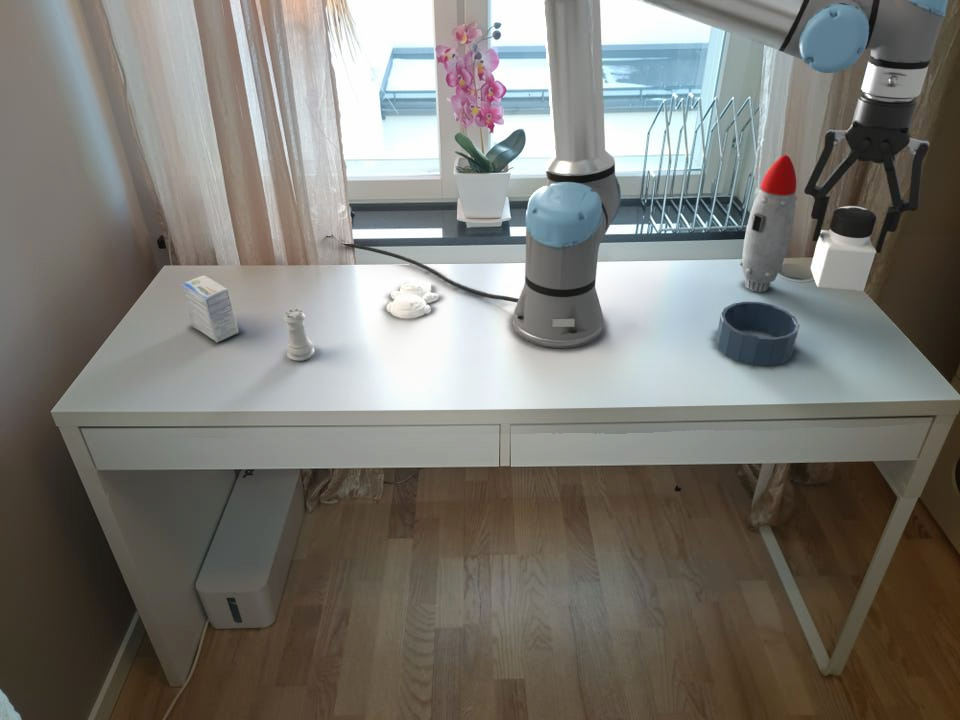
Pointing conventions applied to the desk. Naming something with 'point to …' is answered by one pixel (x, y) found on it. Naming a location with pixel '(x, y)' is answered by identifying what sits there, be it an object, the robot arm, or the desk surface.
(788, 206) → the toy rocket
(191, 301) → the medicine box
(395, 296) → the astronaut figurine
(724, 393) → the desk surface
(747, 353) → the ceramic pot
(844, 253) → the medicine bottle
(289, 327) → the rook chess piece
